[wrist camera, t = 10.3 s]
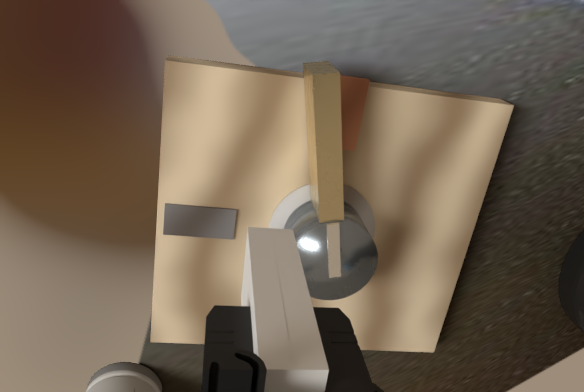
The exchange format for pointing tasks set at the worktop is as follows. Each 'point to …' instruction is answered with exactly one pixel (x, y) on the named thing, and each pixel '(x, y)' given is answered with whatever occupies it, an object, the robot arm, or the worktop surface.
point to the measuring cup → (329, 199)
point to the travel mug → (124, 379)
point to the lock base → (296, 191)
